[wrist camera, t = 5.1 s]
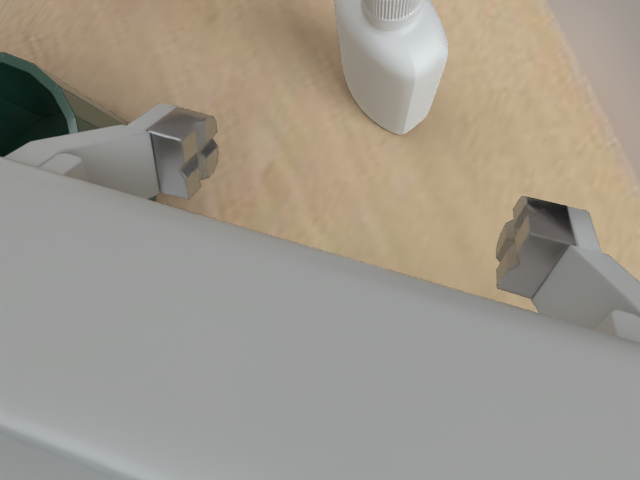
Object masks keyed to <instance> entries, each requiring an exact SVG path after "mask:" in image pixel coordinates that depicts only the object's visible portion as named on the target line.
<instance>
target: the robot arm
mask: <svg viewBox="0 0 640 480" xmlns="http://www.w3.org/2000/svg"><path fill="white" fill-rule="evenodd" d="M216 133H217V122H216V120H215V118H214V117H213V116H211V115H207V114H203V113H200V112H196V111H193V110H189V109H185V108H182V107H179V106H175V105H171V104H166V103H159V104H157V105H156V106H154V107H153V108H151V109H150V110H149V111H147V112H146V113H144V114H143V115H141V116H140V117H138V118H137V119H136V120H134V121H133V122H131V123H130V124H128V125H127V126H125V125H116V126H110V127H105V128H100V129H94V130H89V131H84V132H78V133H73V134H68V135H62V136H57V137H52V138H46V139H41V140H35V141H30V142H29V143H27V144H25V145H24V146H22V147H20V148H18V149H17V150H15V151H13V152H12V153H10V154H8V155H7V156H5V157H1V156H0V480H640V282H639V281H638V280H636V279H635V278H634V277H633V276H632V275H631V274H630V273H629V272H627V271H626V270H625V269H624V268H623V267H622V266H621V265H619V264H618V263H617V262H616V261H615V260H614V259H613V258H612V257H610V256H609V255H608V254H604V253H601V249H600V246H599V243H598V240H597V236H596V233H595V230H594V227H593V223H592V220H591V217H590V214H589V212H588V211H586V210H582V209H578V208H573V207H568V206H565V205H560V204H556V203H552V202H547V201H543V200H539V199H534V198H530V197H526V196H521V197H520V199H519V200H518V201H517V203H516V205H515V207H514V208H513V218H514V219H513V220H511V221H509V222H507V223H505V225H504V227H503V229H502V232H501V234H500V237H499V240H498V243H497V248H496V258H497V259H498V261H499V262H500V264H499V266H498V268H497V269H496V276H497V288H498V289H501V290H504V291H507V292H510V293H514V294H517V295H520V296H523V297H526V298H530V299H532V300H531V301H532V303H533V304H534V306H535V307H536V309H537V310H538V312H539V313H540V314H539V313H536V312H533V311H529V310H526V309H522V308H519V307H516V306H512V305H509V304H505V303H502V302H498V301H495V300H491V299H488V298H485V297H481V296H478V295H474V294H471V293H467V292H464V291H461V290H457V289H454V288H450V287H447V286H443V285H440V284H437V283H433V282H430V281H426V280H423V279H419V278H416V277H412V276H409V275H406V274H402V273H399V272H395V271H392V270H388V269H385V268H382V267H378V266H375V265H371V264H368V263H364V262H361V261H358V260H354V259H351V258H347V257H344V256H340V255H337V254H334V253H330V252H327V251H323V250H320V249H316V248H313V247H310V246H306V245H303V244H299V243H296V242H292V241H289V240H285V239H282V238H279V237H275V236H272V235H268V234H265V233H261V232H258V231H255V230H251V229H248V228H244V227H241V226H237V225H234V224H231V223H227V222H224V221H220V220H217V219H213V218H210V217H207V216H203V215H200V214H196V213H193V212H189V211H186V210H183V209H179V208H176V207H172V206H169V205H165V204H162V203H159V202H155V201H152V200H148V199H149V198H151V197H153V196H156V195H158V194H160V192H161V193H165V194H169V195H173V196H177V197H180V198H184V199H188V200H189V199H190V198H191V196H192V195H193V194H194V193H195V192H196V191H197V190H198V189H199V188H200V187H201V183H200V180H203V179H206V178H209V177H210V176H211V174H212V173H213V172H214V170H215V167H216V165H217V162H218V146H217V144H216V143H215V141H214V139H213V137H214V136H215V134H216Z"/></svg>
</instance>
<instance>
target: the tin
mask: <svg viewBox="0 0 640 480" xmlns="http://www.w3.org/2000/svg"><path fill="white" fill-rule="evenodd" d="M116 125H125V126H127V125H128V124H127V123H126V122H125V121H123V120H122V119H121V118H119V117H118V116H117V115H116V114H114V113H113V112H111V111H110V110H108V109H106V108H105V107H103V106H102V105H100V104H98V103H97V102H95V101H93V100H92V99H90V98H89V97H87V96H85V95H84V94H82V93H81V92H79V91H77V90H76V89H74V88H72V87H71V86H69V85H68V84H66V83H64V82H63V81H61V80H60V79H58V78H56V77H55V76H53V75H51V74H50V73H48V72H47V71H45V70H43V69H42V68H40V67H39V66H37V65H35V64H34V63H31V62H28V61H26V60H23V59H21V58H18V57H15V56H13V55H10V54H8V53H4V52H0V156H1V157H5V156H7V155H8V154H10V153H12V152H13V151H15V150H17V149H18V148H20V147H22V146H24V145H25V144H27V143H29V142H30V141H35V140H41V139H46V138H52V137H57V136H62V135H68V134H73V133H78V132H84V131H89V130H94V129H100V128H105V127H110V126H116ZM155 198H156V196H153V197H151V198H149V199H148V200H152V201H155Z"/></svg>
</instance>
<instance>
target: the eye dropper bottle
mask: <svg viewBox="0 0 640 480" xmlns="http://www.w3.org/2000/svg"><path fill="white" fill-rule="evenodd" d="M334 6H335V16H336V24H337V32H338V39H339V47H340V54H341V61H342V68H343V73H344V77H345V81H346V83H347V86H348V88H349V90H350V93H351V94H352V96H353V98H354V100H355V101H356V103H357V104H358V106H359V107H360V108H361V109H362V111H363V112H364V113H365V114H366V115H367V116H368V117H369V118H370V119H372V120H373V121H374V122H375V123H377V124H378V125H380V126H381V127H383V128H385V129H386V130H388V131H390V132H393V133H395V134H401V135H402V134H405V133H407V132H409V131H410V130H411V129H412V128H414V127H415V126H416V125H417V124H419V123H420V122H421V121H422V120H423V119H424V118H425V117H426V116H427V114H428V113H429V110H430V107H431V105H432V102H433V99H434V96H435V93H436V91H437V88H438V85H439V82H440V79H441V76H442V74H443V71H444V68H445V64H446V61H447V57H448V43H447V38H446V34H445V31H444V28H443V25H442V23H441V20H440V18H439V16H438V14H437V12H436V10H435V8H434V6H433V5H432V3H431V1H430V0H334Z"/></svg>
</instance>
